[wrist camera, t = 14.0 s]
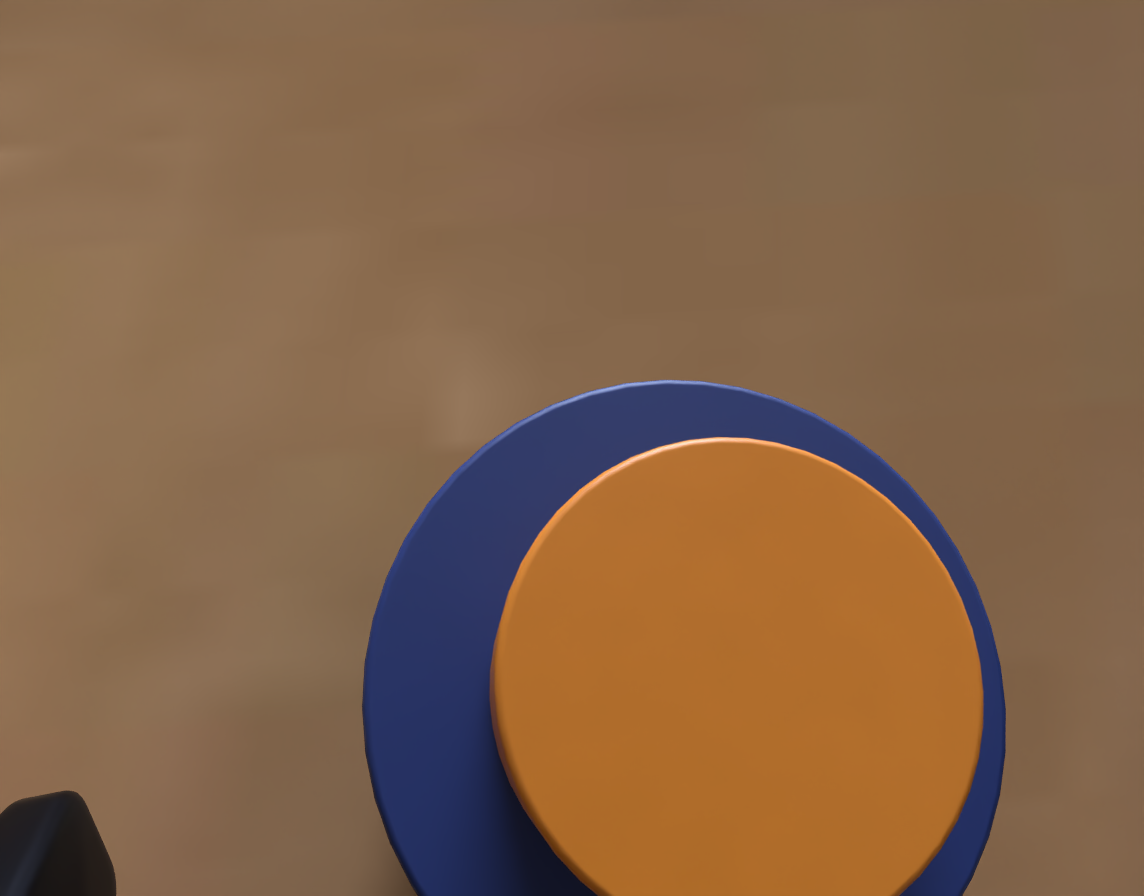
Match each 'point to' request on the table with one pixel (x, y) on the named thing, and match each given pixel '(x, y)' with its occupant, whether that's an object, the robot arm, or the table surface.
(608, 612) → the glue bottle
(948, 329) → the table surface
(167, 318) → the table surface
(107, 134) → the table surface
